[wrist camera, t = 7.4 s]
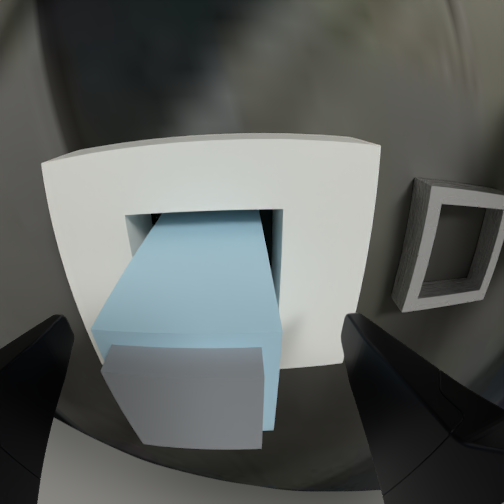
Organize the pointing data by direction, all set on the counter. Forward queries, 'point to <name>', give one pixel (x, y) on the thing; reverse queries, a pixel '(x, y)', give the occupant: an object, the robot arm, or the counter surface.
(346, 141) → the port panel
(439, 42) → the counter surface
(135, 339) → the plug
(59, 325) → the robot arm
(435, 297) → the gray square frame
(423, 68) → the counter surface
